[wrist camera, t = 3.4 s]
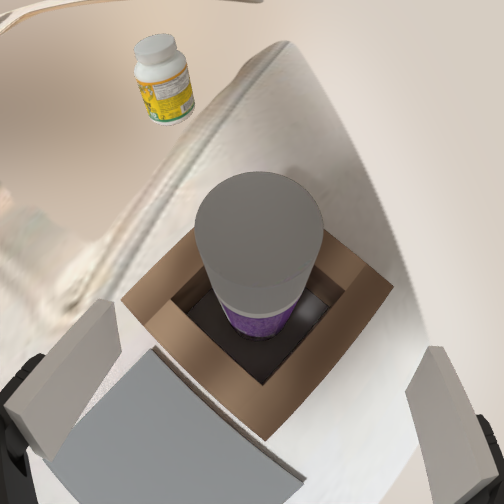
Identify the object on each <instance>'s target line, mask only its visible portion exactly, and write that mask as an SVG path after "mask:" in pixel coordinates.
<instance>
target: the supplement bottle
mask: <svg viewBox="0 0 504 504" xmlns="http://www.w3.org/2000/svg"><path fill="white" fill-rule="evenodd" d="M176 49H177V46H176V43H175V39H174V37H173V36H172V35H169V34H157V35H152V36H149V37H147V38H145V39H143V40H141V41H140V42H138V43H137V44H136V45H135V47H134V52H135V56H136V59H137V61H138V62H137V64H136V66H135V69H134V74H135V77H136V80H137V83H138V86H139V89H140V92H141V94H142V97H143V100H144V103H145V106H146V109H147V111H148V114H149V117H150V119H151V120H152V121H153V122H155V123H157V124H159V125H164V126H167V125H175V124H178V123H180V122H182V121H184V120H185V119H187V118H188V117H189V116H190V115H191V114H192V112H193V110H194V107H195V102H194V97H193V92H192V87H191V83H190V77H189V73H188V68H187V62H186V58H185V56H184V55H183V54H182V53H181V52H180V51H178V50H176Z"/></svg>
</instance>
